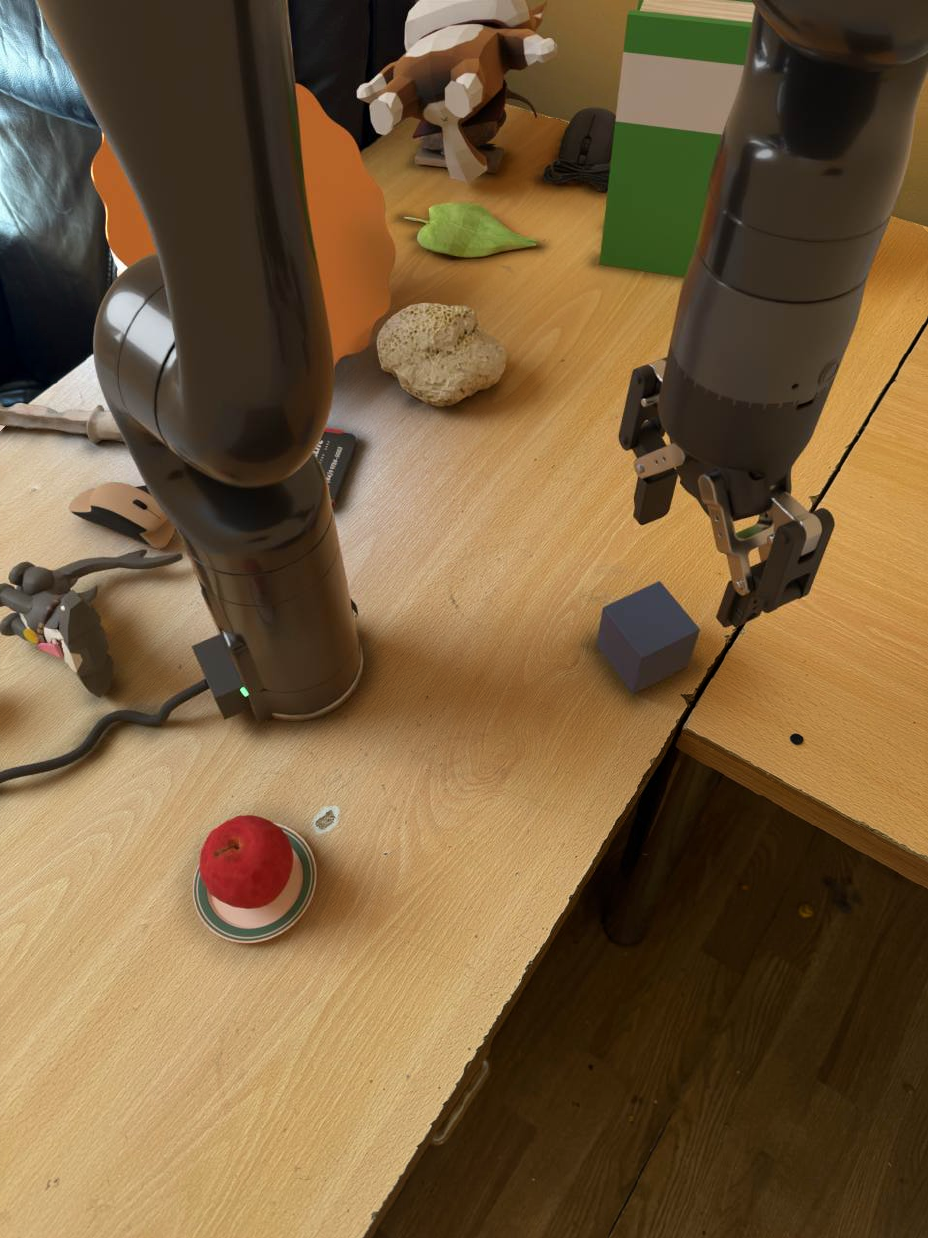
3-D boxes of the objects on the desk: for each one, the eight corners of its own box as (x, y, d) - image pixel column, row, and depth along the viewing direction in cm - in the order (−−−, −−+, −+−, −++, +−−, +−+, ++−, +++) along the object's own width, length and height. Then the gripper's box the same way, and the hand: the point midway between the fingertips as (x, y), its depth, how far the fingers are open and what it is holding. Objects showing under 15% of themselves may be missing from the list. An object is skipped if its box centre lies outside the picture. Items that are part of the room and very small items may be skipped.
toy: (288, 50, 93) (389, -22, 113) (351, 233, 105) (433, 138, 125) (510, -11, 84) (577, -77, 104) (553, 197, 96) (605, 101, 116)
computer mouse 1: (112, 467, 83) (97, 433, 80) (207, 503, 80) (195, 470, 77) (64, 517, 80) (46, 484, 76) (161, 557, 77) (147, 525, 74)
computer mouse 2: (640, 128, 115) (644, 96, 112) (628, 195, 107) (632, 162, 103) (558, 122, 116) (560, 90, 113) (540, 187, 108) (541, 154, 105)
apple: (170, 914, 60) (140, 879, 55) (236, 808, 64) (214, 765, 59) (278, 966, 58) (257, 934, 53) (339, 852, 62) (325, 812, 57)
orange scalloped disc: (358, 74, 89) (270, 160, 103) (55, 20, 71) (-1, 132, 85) (421, 369, 91) (327, 414, 105) (142, 386, 74) (74, 437, 88)
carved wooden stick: (264, 438, 85) (257, 415, 83) (251, 468, 83) (244, 446, 81) (11, 406, 88) (-2, 384, 86) (-8, 435, 86) (-21, 413, 84)
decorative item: (356, 386, 82) (368, 282, 84) (384, 425, 91) (394, 330, 93) (491, 385, 80) (501, 278, 82) (507, 426, 88) (515, 328, 90)
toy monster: (-88, 531, 62) (22, 571, 59) (112, 529, 79) (207, 560, 75) (-111, 735, 65) (-7, 784, 61) (87, 691, 81) (177, 728, 78)
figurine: (538, 157, 111) (542, 81, 104) (531, 178, 109) (534, 101, 102) (425, 144, 113) (421, 68, 106) (414, 164, 111) (410, 87, 104)
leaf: (417, 201, 106) (416, 185, 105) (546, 230, 102) (546, 213, 100) (383, 249, 102) (380, 233, 101) (515, 280, 98) (515, 264, 96)
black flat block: (330, 510, 79) (273, 502, 80) (331, 515, 80) (275, 507, 80) (359, 432, 84) (306, 425, 85) (360, 438, 85) (307, 431, 86)
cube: (632, 695, 69) (642, 658, 65) (595, 645, 72) (602, 607, 67) (688, 667, 70) (701, 629, 66) (650, 619, 73) (659, 580, 69)
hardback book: (599, 264, 99) (627, 13, 80) (612, 224, 103) (642, -23, 84) (768, 289, 96) (841, 36, 77) (775, 248, 100) (846, -3, 81)
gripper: (601, 280, 45) (573, 508, 58) (789, 471, 37) (709, 683, 51) (729, 237, 47) (674, 467, 60) (933, 411, 39) (819, 630, 53)
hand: (690, 566), depth 55 cm, fingers open, 8 cm apart
